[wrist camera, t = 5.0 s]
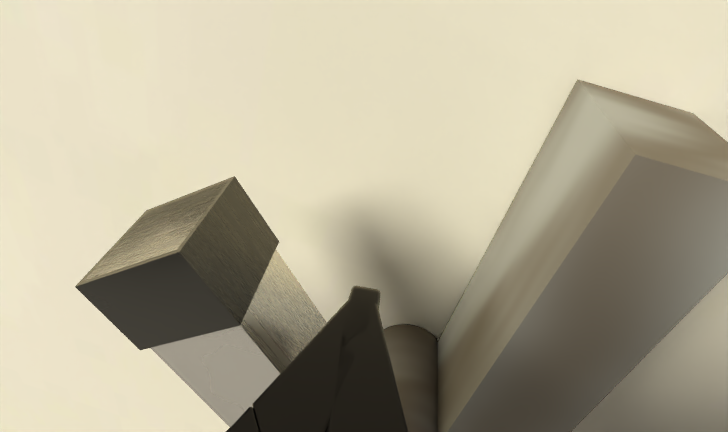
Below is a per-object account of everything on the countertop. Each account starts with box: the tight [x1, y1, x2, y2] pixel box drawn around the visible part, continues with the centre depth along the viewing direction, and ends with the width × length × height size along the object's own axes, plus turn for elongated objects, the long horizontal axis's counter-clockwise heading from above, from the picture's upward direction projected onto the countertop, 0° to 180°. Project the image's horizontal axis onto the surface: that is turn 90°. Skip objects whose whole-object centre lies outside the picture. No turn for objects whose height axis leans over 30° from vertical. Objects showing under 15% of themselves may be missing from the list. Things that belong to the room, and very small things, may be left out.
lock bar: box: [75, 176, 327, 427], centre depth 10 cm, size 12×3×3 cm, turn 25°
